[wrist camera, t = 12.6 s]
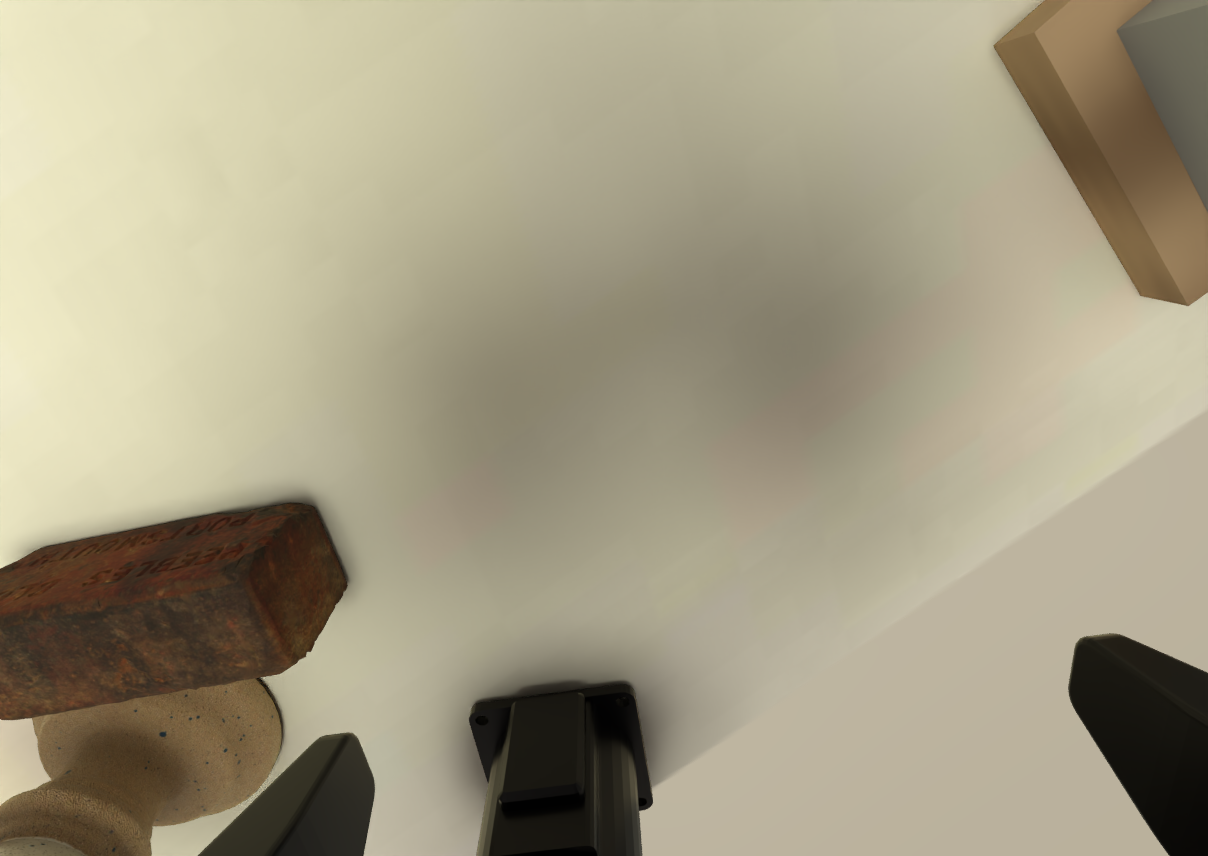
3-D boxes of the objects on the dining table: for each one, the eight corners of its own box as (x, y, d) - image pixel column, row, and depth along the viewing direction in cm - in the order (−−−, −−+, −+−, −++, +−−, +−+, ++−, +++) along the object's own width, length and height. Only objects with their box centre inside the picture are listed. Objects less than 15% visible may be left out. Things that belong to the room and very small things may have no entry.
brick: (312, 487, 21) (240, 566, 17) (354, 582, 23) (297, 678, 18) (24, 545, 22) (-117, 636, 17) (82, 633, 23) (-35, 738, 19)
